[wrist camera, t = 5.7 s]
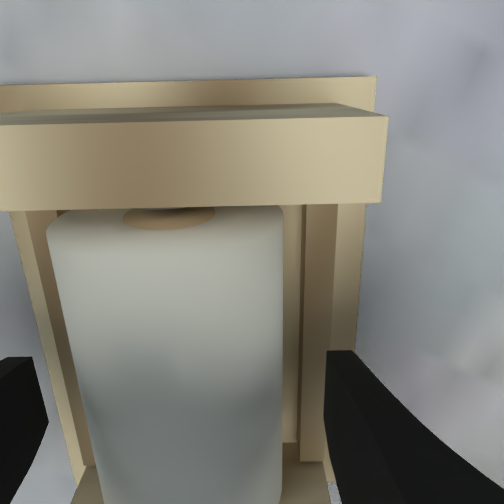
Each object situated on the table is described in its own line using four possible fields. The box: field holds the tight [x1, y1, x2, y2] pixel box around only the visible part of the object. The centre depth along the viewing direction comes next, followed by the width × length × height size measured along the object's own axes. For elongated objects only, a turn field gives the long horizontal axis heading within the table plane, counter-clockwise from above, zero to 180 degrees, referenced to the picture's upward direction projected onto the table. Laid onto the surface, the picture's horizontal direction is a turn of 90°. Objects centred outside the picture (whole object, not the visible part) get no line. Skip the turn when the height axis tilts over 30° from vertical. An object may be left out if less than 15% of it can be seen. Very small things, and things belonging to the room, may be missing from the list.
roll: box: [46, 205, 283, 504], centre depth 11 cm, size 8×5×5 cm, turn 1°
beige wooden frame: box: [0, 76, 389, 504], centre depth 12 cm, size 10×14×6 cm
